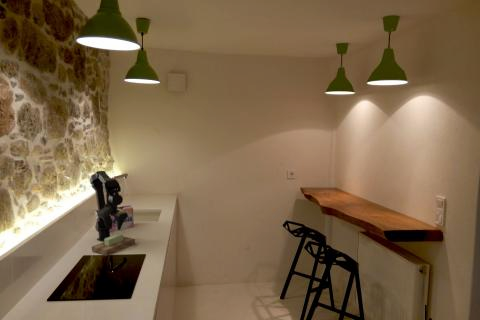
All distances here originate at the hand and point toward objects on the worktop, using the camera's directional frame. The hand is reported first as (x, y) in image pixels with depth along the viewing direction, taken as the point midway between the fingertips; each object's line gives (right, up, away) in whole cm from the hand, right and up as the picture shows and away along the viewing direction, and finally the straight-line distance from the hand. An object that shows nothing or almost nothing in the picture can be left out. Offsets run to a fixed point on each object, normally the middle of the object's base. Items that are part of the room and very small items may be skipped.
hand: (113, 229), depth 194 cm
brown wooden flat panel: (0, -11, +1) cm, 11 cm away
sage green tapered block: (0, -11, +1) cm, 11 cm away
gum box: (-12, -7, +36) cm, 39 cm away
